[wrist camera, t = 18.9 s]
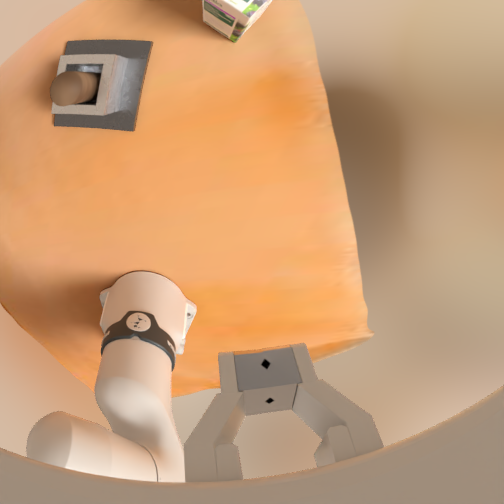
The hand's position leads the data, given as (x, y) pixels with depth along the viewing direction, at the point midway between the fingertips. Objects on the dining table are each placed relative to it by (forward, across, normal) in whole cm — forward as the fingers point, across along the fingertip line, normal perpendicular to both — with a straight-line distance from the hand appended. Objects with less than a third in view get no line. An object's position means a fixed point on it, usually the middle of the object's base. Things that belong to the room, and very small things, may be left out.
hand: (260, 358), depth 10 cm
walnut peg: (+34, +17, -11) cm, 40 cm away
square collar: (+35, +17, -12) cm, 41 cm away
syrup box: (+35, -2, -19) cm, 40 cm away
